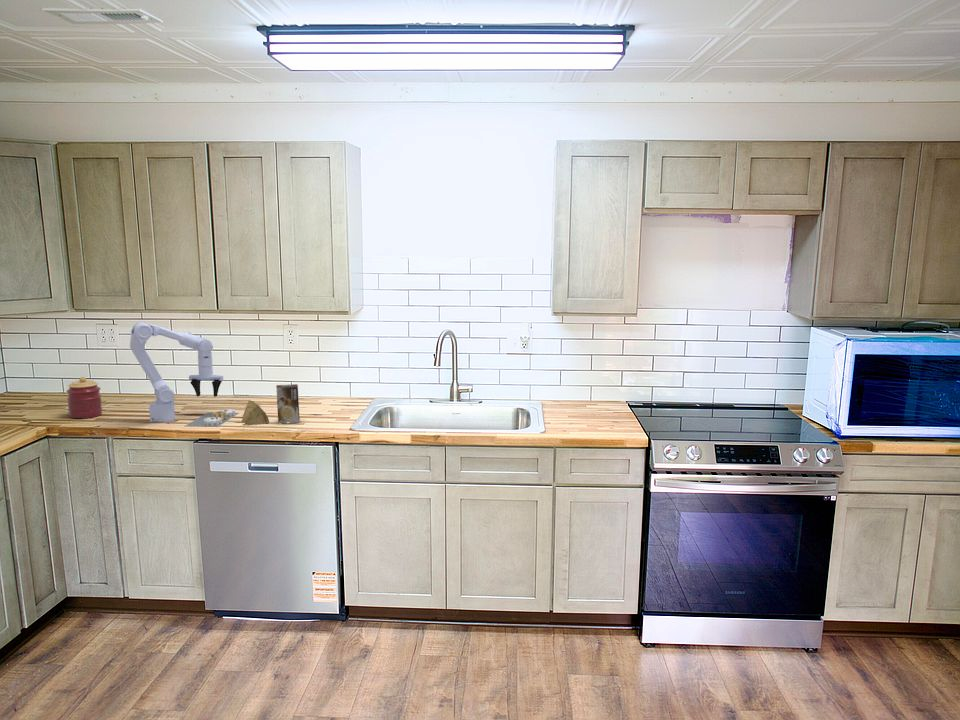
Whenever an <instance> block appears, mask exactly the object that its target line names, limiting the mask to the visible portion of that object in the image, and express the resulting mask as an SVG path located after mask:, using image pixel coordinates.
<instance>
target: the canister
mask: <svg viewBox="0 0 960 720" xmlns="http://www.w3.org/2000/svg"><path fill="white" fill-rule="evenodd" d="M78 379H79V380H76V381H72V382H71V383H70V384H68V385H67V386H68V389H67V390H66V393H67V398H66V399H67V406H68V412H67V413H68V417H69V418H70V417H71V418H70V419H73V418H85V419H91V418H90V417H92V418H96V416H97V417H99V415H100V416H101V415H102V414H103V407H102V395H101V393H100V391H101V390H102V389H101V387H100V386H98V385H99V383H98V382H96V381H94V380H92V379H87V378H86V377H85V376H80V377H79V378H78Z"/></svg>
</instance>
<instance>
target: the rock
mask: <svg viewBox="0 0 960 720" xmlns="http://www.w3.org/2000/svg"><path fill="white" fill-rule="evenodd" d="M243 412H244V413H243V415H242V417H241V419H242V420H241V423H242V426H253V425H254V424H255V425H262V423H263V424H269V423H270V420H269V416H268V415H267V413H266V412H265V411H264V409H262V408H261V406H260V405H259V404H257V403H256V402H255V401H253V400H248V402H247V404H246V406H245V408H244V411H243ZM252 424H253V425H252Z"/></svg>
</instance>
